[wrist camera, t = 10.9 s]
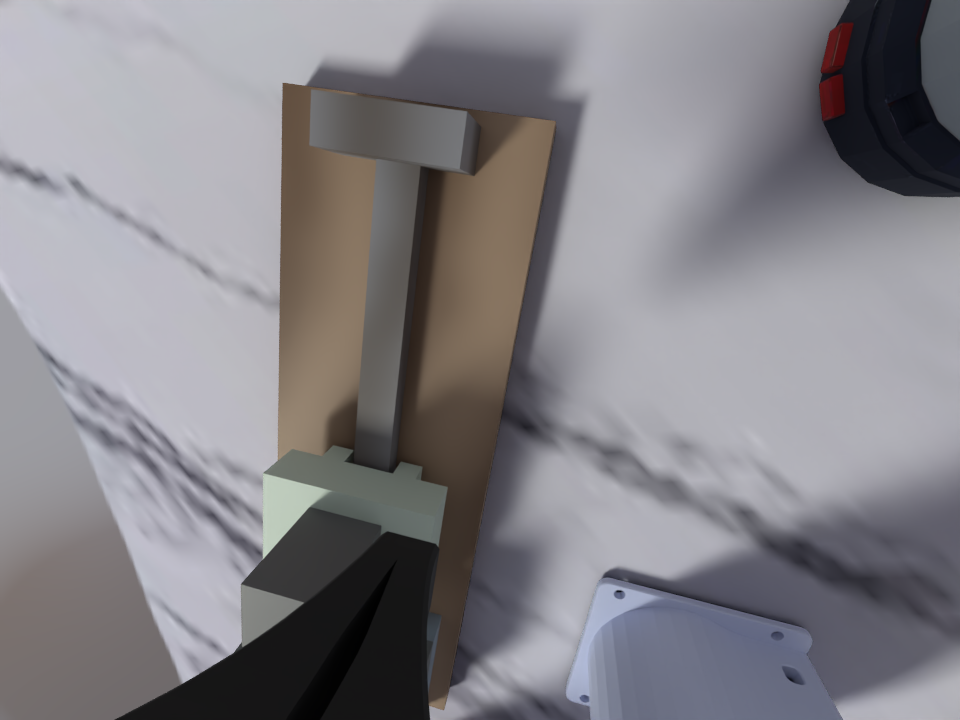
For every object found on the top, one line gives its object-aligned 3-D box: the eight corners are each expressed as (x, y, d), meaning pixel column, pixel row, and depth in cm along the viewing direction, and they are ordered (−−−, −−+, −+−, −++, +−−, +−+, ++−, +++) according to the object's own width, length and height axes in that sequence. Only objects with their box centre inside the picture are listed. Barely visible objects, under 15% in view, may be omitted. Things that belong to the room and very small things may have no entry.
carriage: (453, 474, 20) (397, 602, 13) (436, 581, 22) (380, 740, 15) (304, 438, 20) (181, 542, 14) (300, 544, 22) (191, 679, 16)
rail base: (556, 127, 16) (551, 72, 10) (449, 688, 26) (413, 835, 20) (300, 91, 17) (159, 23, 11) (287, 640, 27) (205, 764, 21)
